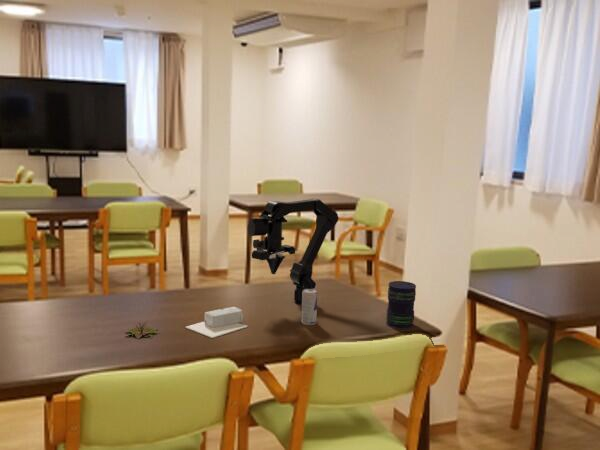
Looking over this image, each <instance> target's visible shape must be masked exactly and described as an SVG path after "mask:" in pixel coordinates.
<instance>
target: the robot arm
mask: <svg viewBox="0 0 600 450" xmlns="http://www.w3.org/2000/svg"><path fill="white" fill-rule="evenodd" d="M306 211H312V212H313V213H314V214H313V215H315V216H316V220H315V230H314V231H313V234H312V236H311V239H310V240H309V243H308V244H307V246H306V249H305V250H304V253H303V256H302V258H301V259H300V260H299V261H298V262H293V264H292V267H291V269H290V270H289V272H290V273H289V277H290V280H291V282H292V283H293V284H292V285H293V286H295V288H294V291H293V292H294V297H293V300H294V302H295V303H294V304H302V292H303V290H304V289H314V290H315V288H316V285H317V283H316V282H315V281H314V280H313V279H312V276H313V264H314V262H315V260H316V258H317V256H318V254H319V251H320V249H321V247H322V245H323V243H324V241H325V239H326V237H327V234H328V233H329V232H331V230H333V229H334V228H335V227H336V225H337V223H338V221H339V218H340V217H339V215H338V213H337V212H336V211H334V210H333V209H332V208H330V207H329V206H328V205H326V204H325V203H324V202H323V201H322V200H321V199H319V198H311V199H301V200H294V201H280V200H269V201H268V202H267V203H266V205H265V208H264V210H263V211H262V212H261V214H260V215H259V217H251V218H250V221H249V222H248V225H247V232H248V234H249V236H250V237H257V236H259V237H260V236H264V238H263V240H260V239H257V238H256V239H253V240H252V247H253V249H254V250H252V252H251V258H252V259H254V260H255V259H256V260H259V261H266V262H267V264H268V266H269V270H270V273H271V274H272V275H276V273H277V272H278V269H279V268H280V265H281V264H282V262H283V260H284V259H285V258H286V255H284V254H283V253H288V254H289V255H296V248H295V246H293V245H288V244H283V241H284V240H285V237H284V236H283V223H288V220H287V219H286V218H285V216H288V215H290V214H293V213H297V212H306ZM282 244H283V245H282ZM255 249H256V250H255Z"/></svg>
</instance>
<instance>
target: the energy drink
mask: <svg viewBox="0 0 600 450" xmlns="http://www.w3.org/2000/svg"><path fill="white" fill-rule="evenodd" d="M317 312H318V291H317V289H315V288H314V289H304V290H303V292H302V303H301V318H300V319H301V320H300V321H301V322H300V323H301V324H302V325H305V326H314V325H316V324H317Z"/></svg>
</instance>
